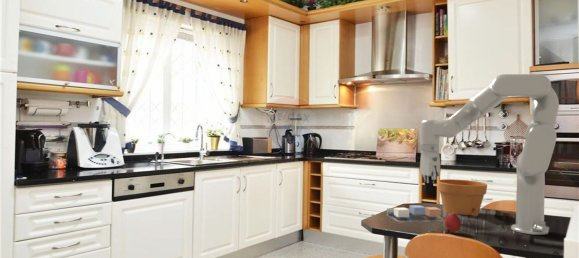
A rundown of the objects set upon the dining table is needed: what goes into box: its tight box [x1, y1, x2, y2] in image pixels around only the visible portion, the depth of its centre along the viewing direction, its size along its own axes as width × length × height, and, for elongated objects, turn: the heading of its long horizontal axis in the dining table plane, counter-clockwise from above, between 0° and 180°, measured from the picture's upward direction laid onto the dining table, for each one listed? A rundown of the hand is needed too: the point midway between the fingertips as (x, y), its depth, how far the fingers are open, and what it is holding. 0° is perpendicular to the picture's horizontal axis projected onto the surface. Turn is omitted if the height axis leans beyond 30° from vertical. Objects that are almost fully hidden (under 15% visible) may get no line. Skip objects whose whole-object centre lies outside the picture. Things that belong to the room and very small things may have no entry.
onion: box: [444, 212, 462, 234], centre depth 162 cm, size 6×6×8 cm
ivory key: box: [393, 207, 409, 217], centre depth 180 cm, size 5×5×3 cm
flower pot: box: [437, 178, 488, 218], centre depth 197 cm, size 21×21×15 cm
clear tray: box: [386, 207, 446, 223], centre depth 181 cm, size 13×22×4 cm, turn 98°
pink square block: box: [424, 206, 442, 218], centre depth 182 cm, size 5×5×3 cm
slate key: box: [409, 204, 425, 215], centre depth 181 cm, size 5×5×3 cm
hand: (428, 191), depth 182 cm, fingers closed
